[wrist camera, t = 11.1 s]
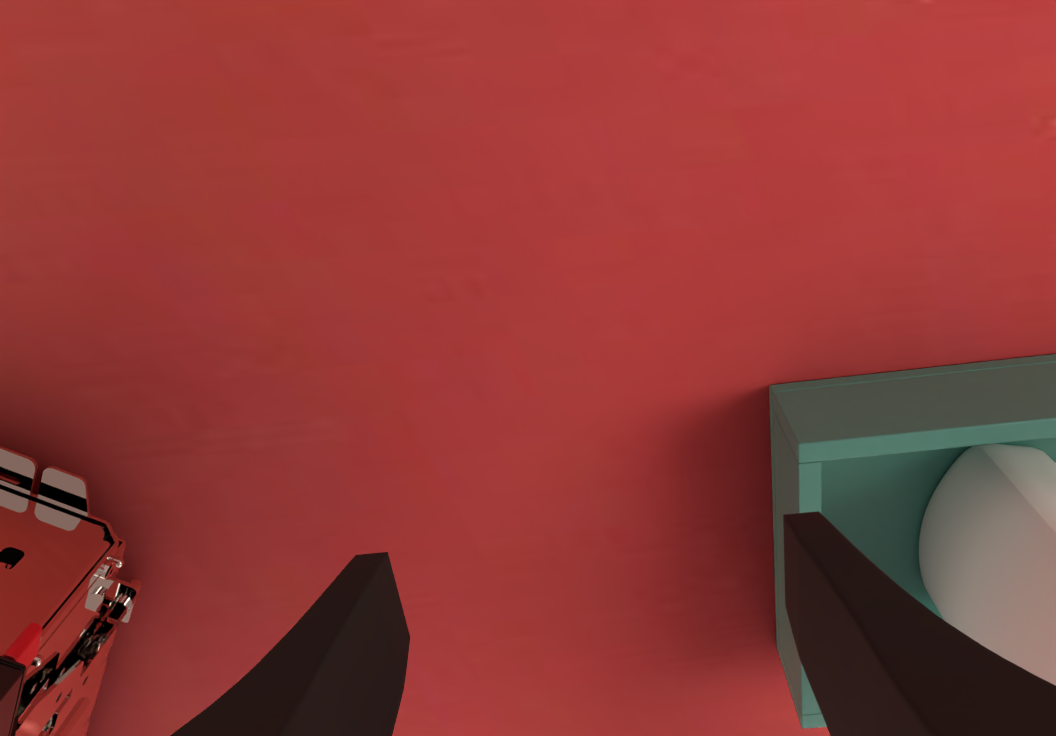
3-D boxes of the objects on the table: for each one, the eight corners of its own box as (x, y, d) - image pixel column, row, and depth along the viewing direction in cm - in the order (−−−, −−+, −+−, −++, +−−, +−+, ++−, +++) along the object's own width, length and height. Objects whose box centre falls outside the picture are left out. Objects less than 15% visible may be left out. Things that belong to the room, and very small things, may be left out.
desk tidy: (1150, 617, 28) (1224, 699, 25) (776, 647, 29) (801, 729, 26) (1209, 336, 24) (1307, 392, 21) (768, 384, 25) (798, 444, 22)
